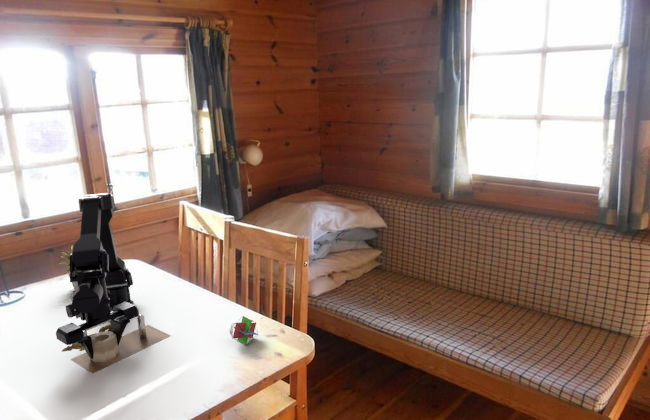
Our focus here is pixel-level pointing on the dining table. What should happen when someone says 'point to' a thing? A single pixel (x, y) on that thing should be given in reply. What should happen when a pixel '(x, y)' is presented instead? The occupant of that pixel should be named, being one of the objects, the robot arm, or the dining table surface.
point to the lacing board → (124, 348)
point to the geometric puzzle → (243, 330)
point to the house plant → (75, 284)
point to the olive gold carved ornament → (79, 346)
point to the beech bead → (104, 346)
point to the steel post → (141, 326)
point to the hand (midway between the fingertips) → (104, 352)
